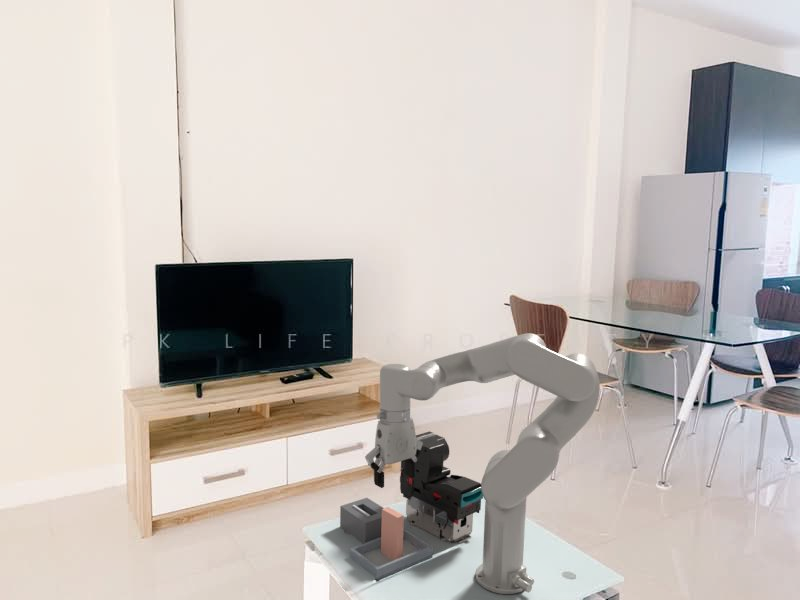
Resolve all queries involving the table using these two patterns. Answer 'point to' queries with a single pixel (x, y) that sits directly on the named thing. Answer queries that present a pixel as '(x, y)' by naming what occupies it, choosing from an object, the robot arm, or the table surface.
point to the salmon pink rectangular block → (392, 533)
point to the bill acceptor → (439, 493)
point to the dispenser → (362, 519)
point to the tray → (396, 564)
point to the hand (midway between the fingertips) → (394, 481)
